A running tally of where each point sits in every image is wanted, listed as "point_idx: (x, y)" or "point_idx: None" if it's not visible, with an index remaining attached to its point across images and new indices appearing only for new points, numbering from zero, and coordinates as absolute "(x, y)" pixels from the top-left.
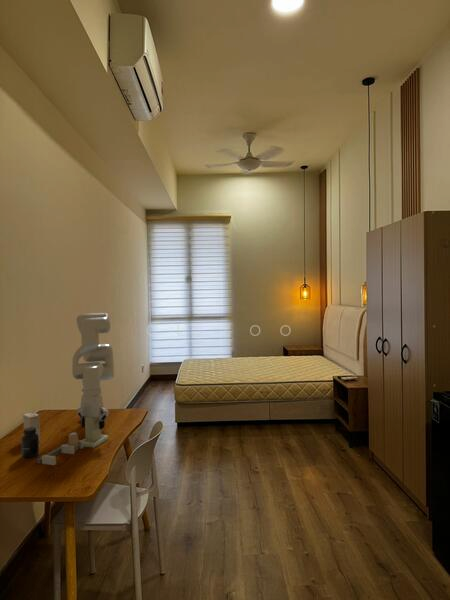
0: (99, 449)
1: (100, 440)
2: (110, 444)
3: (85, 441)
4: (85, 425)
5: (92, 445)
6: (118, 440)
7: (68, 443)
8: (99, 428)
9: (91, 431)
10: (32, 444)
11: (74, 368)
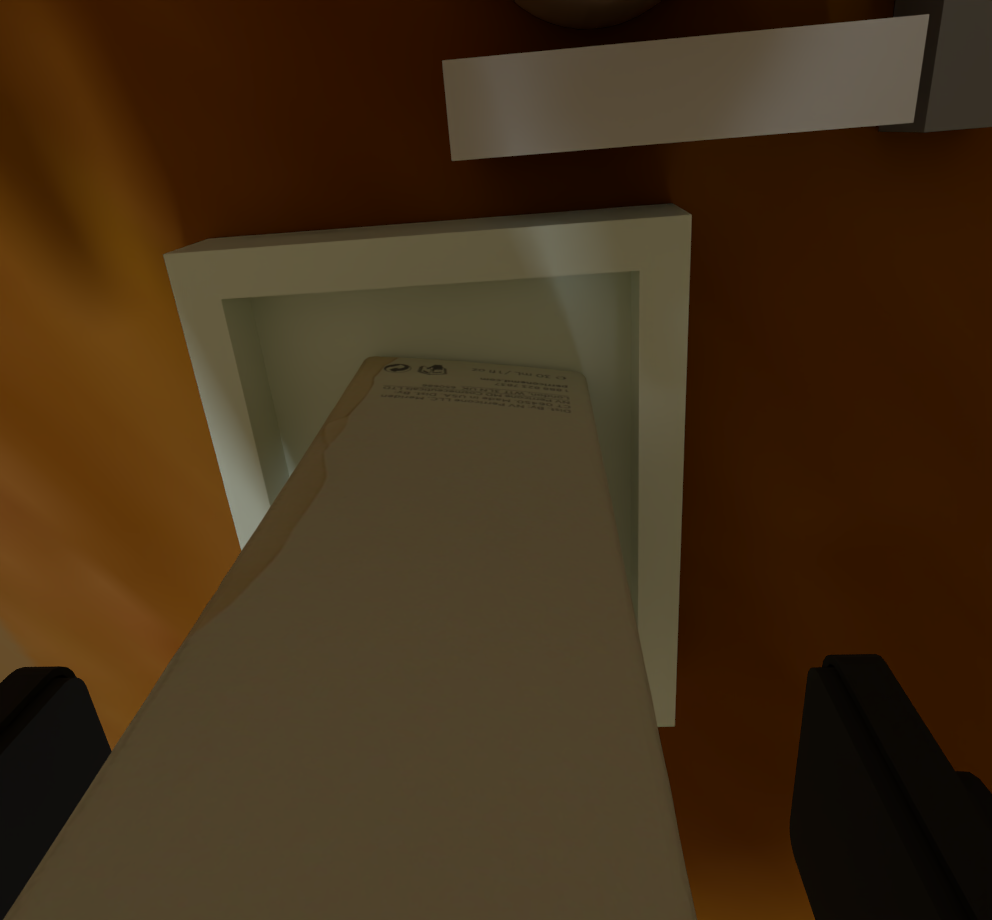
0: (9, 187)
1: (235, 494)
2: (45, 486)
3: (632, 419)
4: (612, 666)
5: (242, 242)
6: (80, 668)
7: (976, 39)
8: (38, 687)
9: (283, 502)
10: None
11: None
